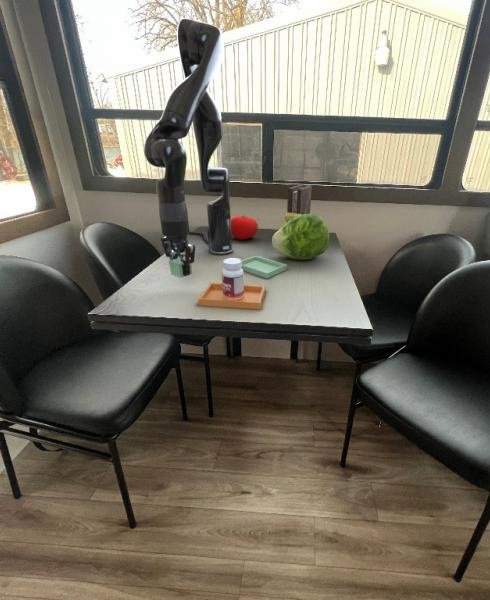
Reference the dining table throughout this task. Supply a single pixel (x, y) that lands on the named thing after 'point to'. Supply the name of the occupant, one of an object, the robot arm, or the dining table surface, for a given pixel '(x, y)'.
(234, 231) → the tomato
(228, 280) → the pill bottle
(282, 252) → the lettuce
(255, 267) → the sage tray
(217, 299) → the amber tray
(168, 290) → the dining table surface
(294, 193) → the book
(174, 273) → the sage block
